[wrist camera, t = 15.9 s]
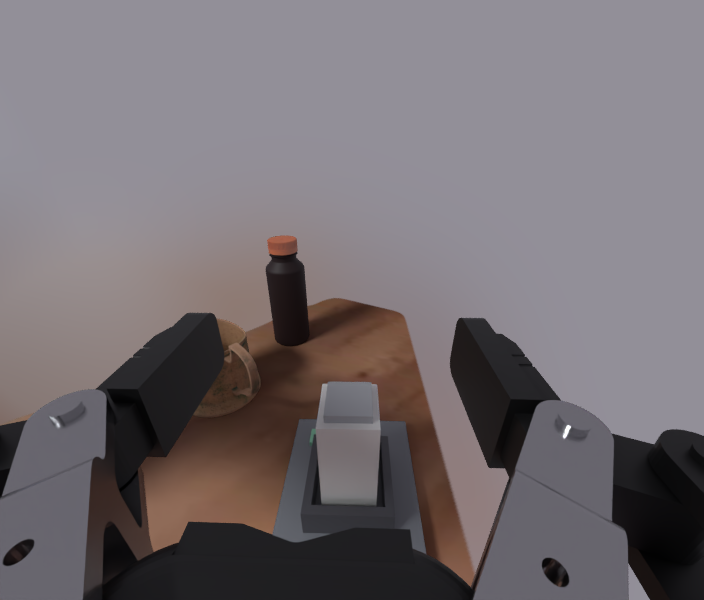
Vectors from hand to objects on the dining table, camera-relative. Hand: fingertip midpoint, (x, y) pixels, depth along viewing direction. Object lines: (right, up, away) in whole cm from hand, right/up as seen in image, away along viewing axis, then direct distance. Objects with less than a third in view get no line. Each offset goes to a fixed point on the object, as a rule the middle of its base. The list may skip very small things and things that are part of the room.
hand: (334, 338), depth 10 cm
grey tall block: (0, -19, +22) cm, 28 cm away
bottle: (-11, -6, +50) cm, 52 cm away
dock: (0, -20, +22) cm, 30 cm away
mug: (-18, -14, +35) cm, 42 cm away
